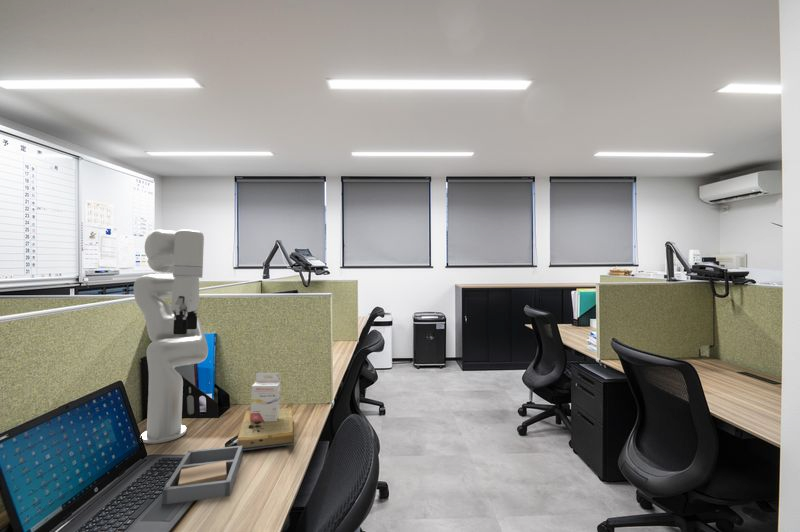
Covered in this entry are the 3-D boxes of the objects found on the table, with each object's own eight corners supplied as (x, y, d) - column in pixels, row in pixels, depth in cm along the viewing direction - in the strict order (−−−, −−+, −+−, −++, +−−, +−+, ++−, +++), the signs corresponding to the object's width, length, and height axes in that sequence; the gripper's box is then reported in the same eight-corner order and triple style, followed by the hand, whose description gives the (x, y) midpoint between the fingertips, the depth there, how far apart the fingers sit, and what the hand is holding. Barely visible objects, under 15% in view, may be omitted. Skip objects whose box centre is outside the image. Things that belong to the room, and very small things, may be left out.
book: (244, 425, 127) (244, 408, 127) (292, 420, 132) (293, 404, 132) (235, 459, 103) (235, 438, 104) (294, 452, 109) (295, 432, 109)
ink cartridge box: (249, 422, 116) (251, 376, 116) (253, 416, 120) (255, 372, 121) (277, 421, 117) (278, 376, 117) (279, 415, 122) (281, 372, 122)
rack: (187, 465, 99) (188, 450, 99) (242, 459, 103) (242, 445, 103) (161, 508, 81) (162, 490, 81) (229, 499, 84) (229, 481, 85)
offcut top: (180, 476, 89) (181, 469, 89) (225, 467, 93) (225, 460, 93) (178, 492, 83) (178, 484, 83) (226, 481, 87) (226, 474, 87)
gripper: (182, 272, 112) (180, 327, 111) (162, 272, 95) (159, 336, 94) (209, 273, 114) (207, 327, 113) (193, 272, 97) (191, 336, 96)
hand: (185, 331), depth 104 cm, fingers open, 9 cm apart
